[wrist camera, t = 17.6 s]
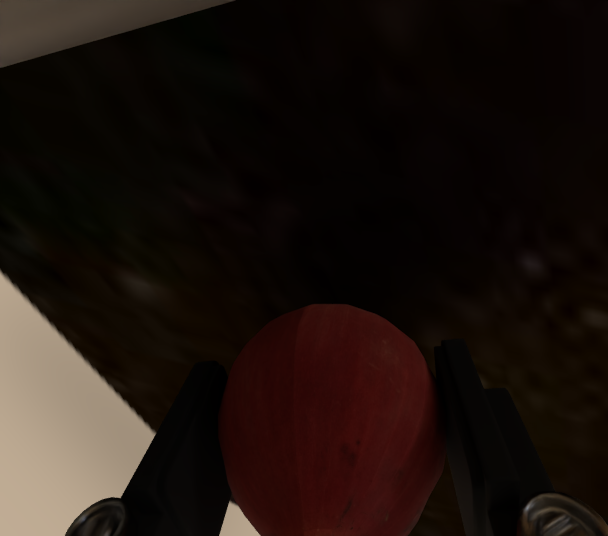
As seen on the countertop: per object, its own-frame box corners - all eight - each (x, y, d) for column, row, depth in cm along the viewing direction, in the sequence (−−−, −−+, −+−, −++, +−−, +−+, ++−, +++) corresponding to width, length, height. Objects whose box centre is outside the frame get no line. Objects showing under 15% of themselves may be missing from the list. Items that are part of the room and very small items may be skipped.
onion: (459, 333, 13) (582, 646, 6) (342, 417, 15) (329, 712, 8) (330, 221, 12) (292, 449, 5) (224, 331, 14) (93, 591, 7)
